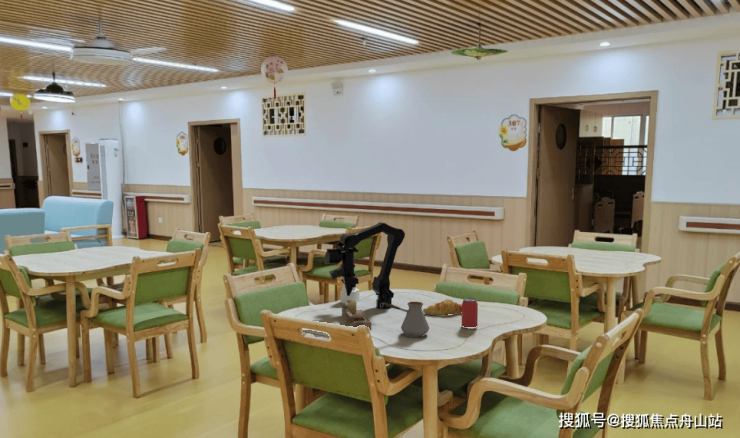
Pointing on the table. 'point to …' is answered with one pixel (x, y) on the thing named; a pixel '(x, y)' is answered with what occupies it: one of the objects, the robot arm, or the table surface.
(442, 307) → the croissant
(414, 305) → the coffee pot
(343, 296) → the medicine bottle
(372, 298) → the table surface
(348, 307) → the brass clip block
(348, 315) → the guide board
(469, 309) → the beer can
